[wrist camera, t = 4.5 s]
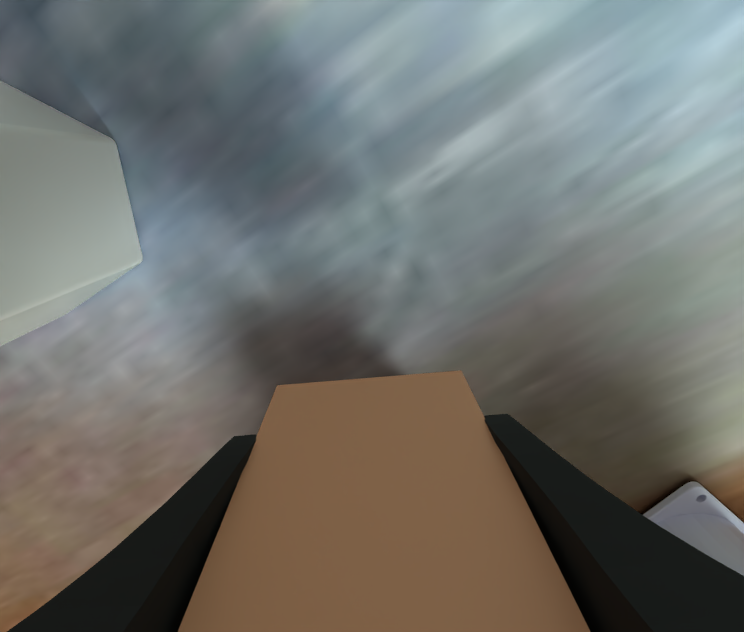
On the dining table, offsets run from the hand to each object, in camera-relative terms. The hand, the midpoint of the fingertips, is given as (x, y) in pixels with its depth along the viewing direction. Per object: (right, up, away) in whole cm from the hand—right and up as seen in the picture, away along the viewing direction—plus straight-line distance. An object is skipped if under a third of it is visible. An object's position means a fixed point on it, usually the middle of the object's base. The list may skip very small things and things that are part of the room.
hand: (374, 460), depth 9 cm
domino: (0, +1, +2) cm, 2 cm away
